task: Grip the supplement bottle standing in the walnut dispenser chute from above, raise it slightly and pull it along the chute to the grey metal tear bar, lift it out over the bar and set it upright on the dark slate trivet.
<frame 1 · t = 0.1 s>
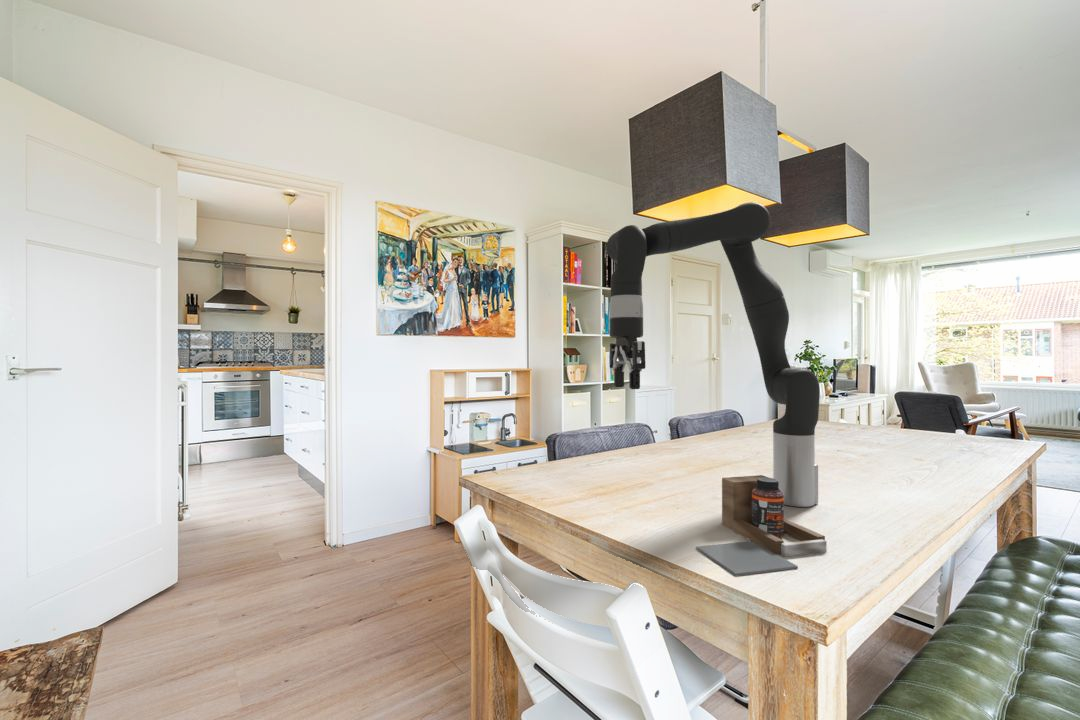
hand: (626, 388, 111), 29 cm above the table, tool pointing down, fingers open, 8 cm apart
supplement bottle: (767, 535, 100), resting in dispenser
trivet: (744, 558, 88), on the table
dispenser: (770, 536, 99), on the table
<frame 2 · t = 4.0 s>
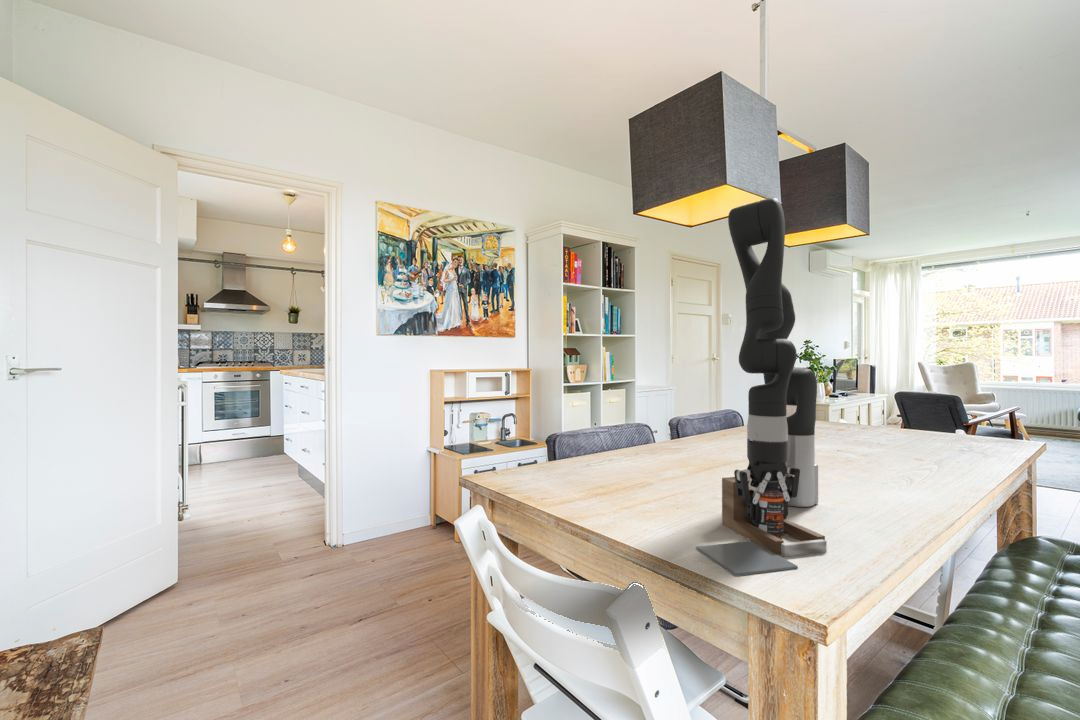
hand: (767, 519, 100), 3 cm above the table, tool pointing down, fingers closed on supplement bottle, 6 cm apart
supplement bottle: (767, 535, 100), resting in dispenser, touching gripper
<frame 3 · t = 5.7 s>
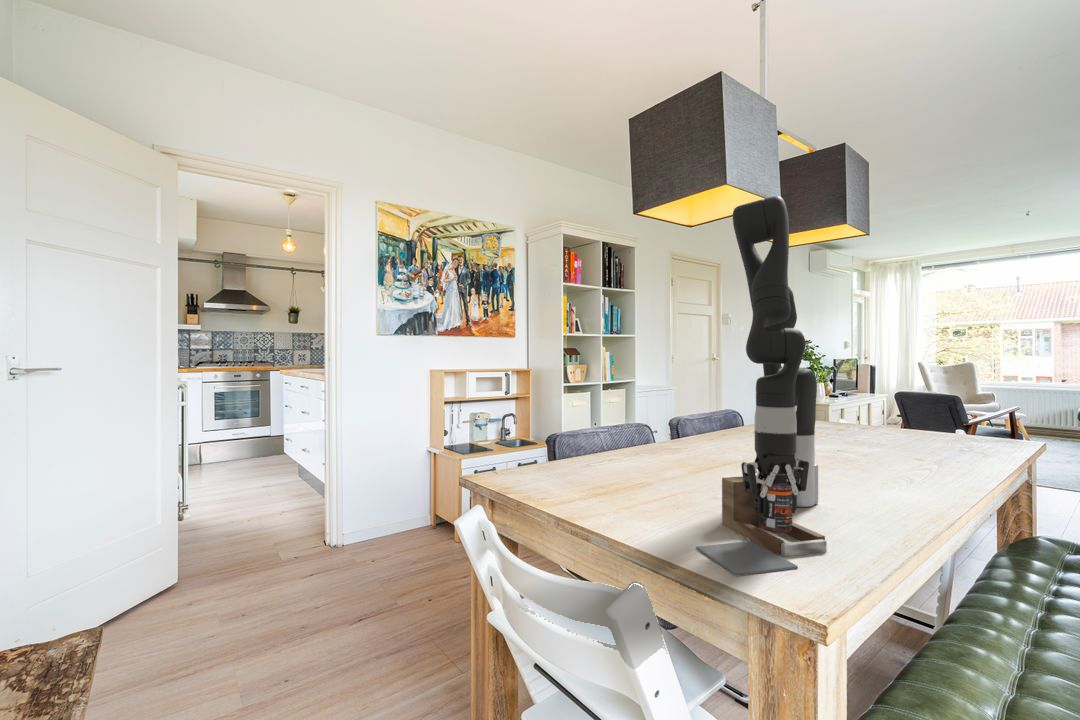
hand: (775, 513, 97), 5 cm above the table, tool pointing down, fingers closed on supplement bottle, 6 cm apart
supplement bottle: (775, 530, 97), point 2 cm above the table, touching gripper
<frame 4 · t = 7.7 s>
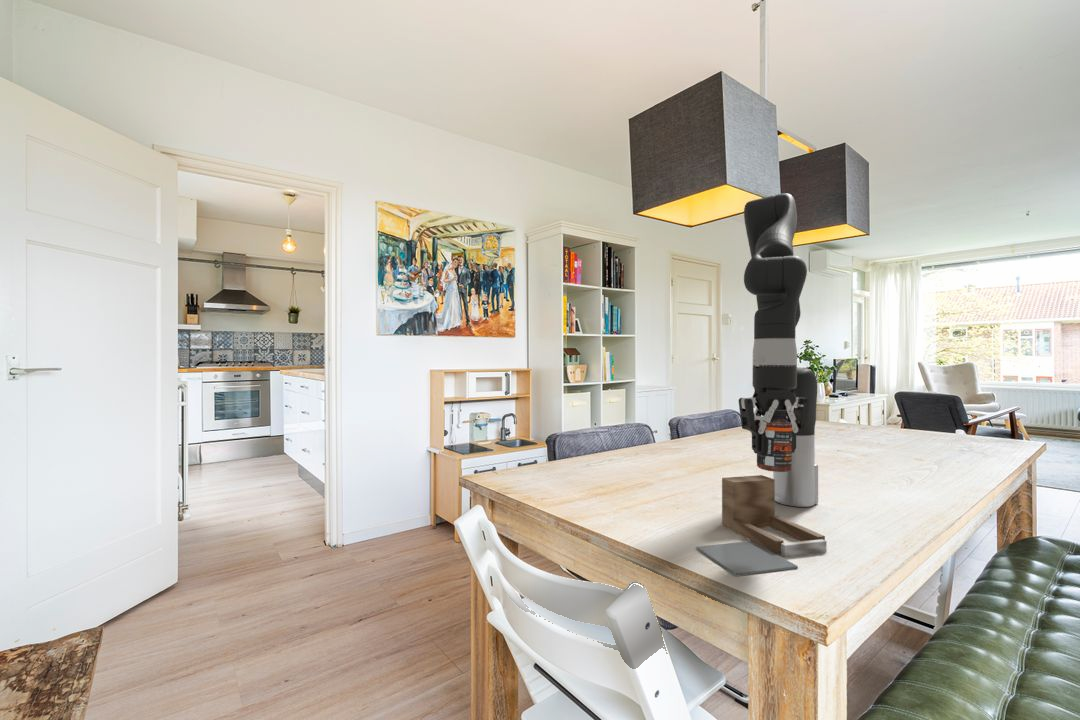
hand: (773, 452, 92), 18 cm above the table, tool pointing down, fingers closed on supplement bottle, 6 cm apart
supplement bottle: (774, 470, 92), point 15 cm above the table, touching gripper
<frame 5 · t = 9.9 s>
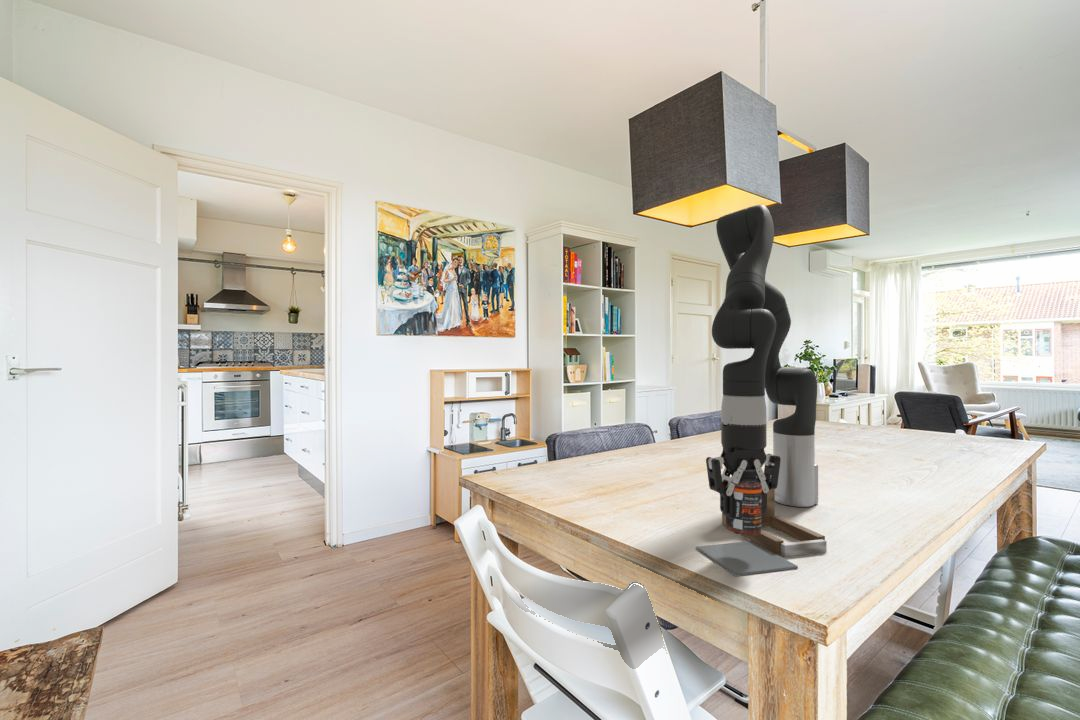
hand: (743, 513, 88), 8 cm above the table, tool pointing down, fingers closed on supplement bottle, 6 cm apart
supplement bottle: (743, 532, 88), point 5 cm above the table, touching gripper
when the fingers open (4 cm above the table, at t = 11.7 s): supplement bottle stays where it is, resting on trivet.
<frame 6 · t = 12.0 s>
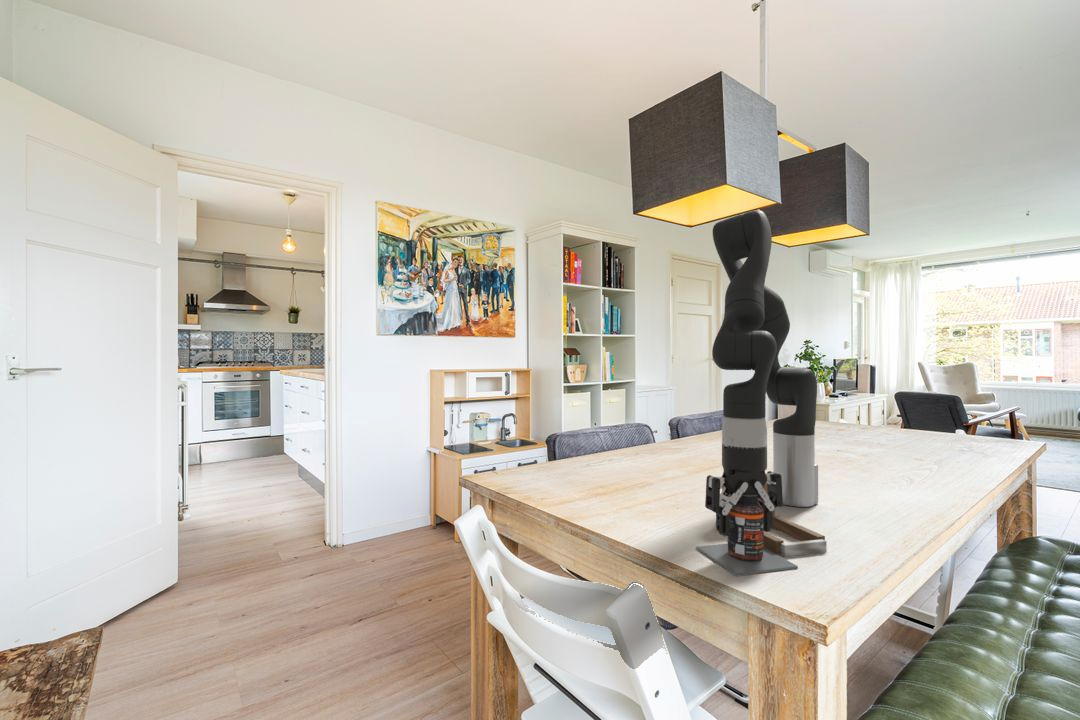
hand: (744, 532, 88), 5 cm above the table, tool pointing down, fingers open, 8 cm apart
supplement bottle: (745, 556, 88), resting on trivet
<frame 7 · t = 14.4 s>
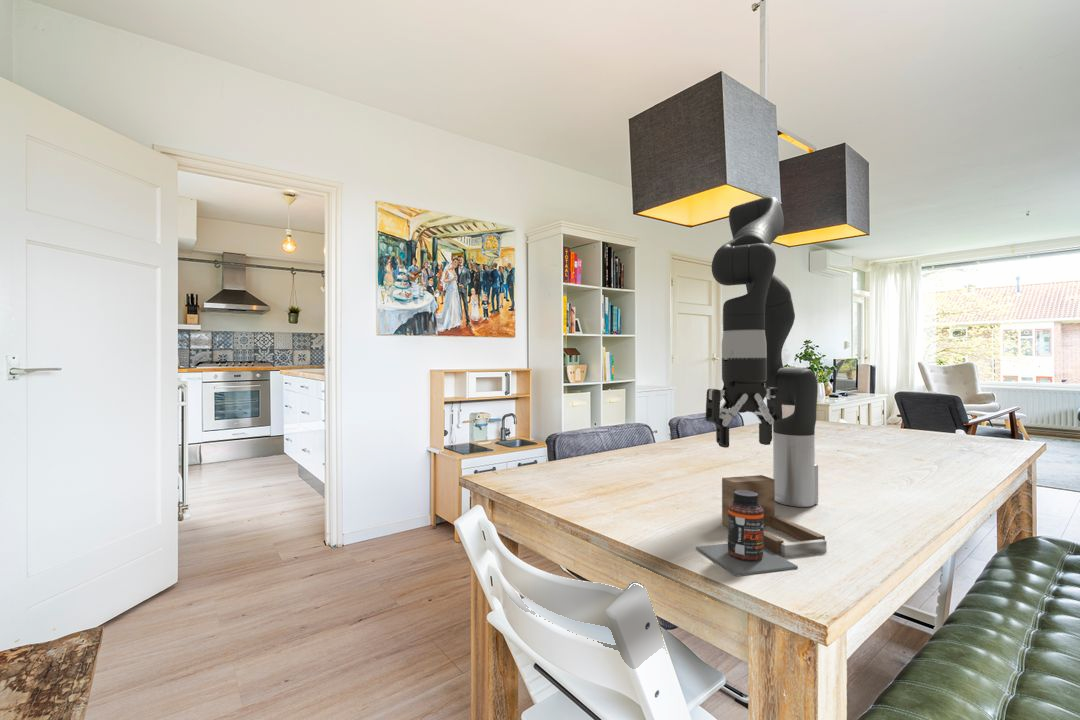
hand: (744, 445, 89), 20 cm above the table, tool pointing down, fingers open, 8 cm apart
nothing on the table moved.
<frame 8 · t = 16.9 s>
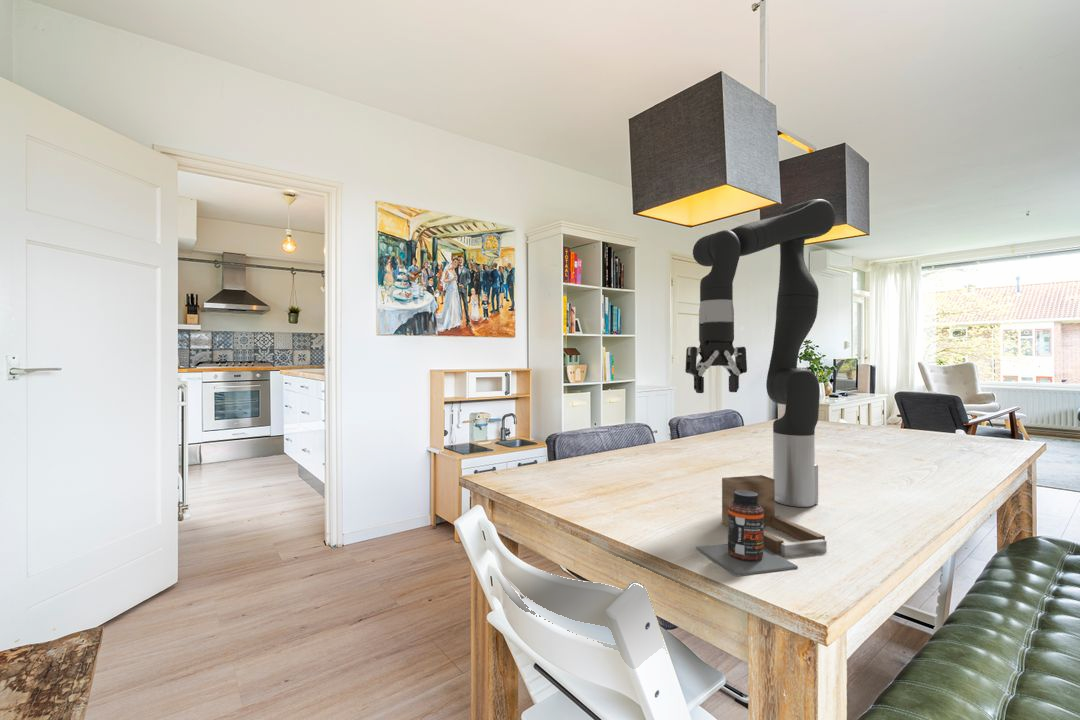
hand: (716, 392, 112), 28 cm above the table, tool pointing down, fingers open, 8 cm apart
nothing on the table moved.
at the end: supplement bottle inside the target area on the trivet (0.3 cm from its centre), point 0.2 cm above the trivet's base; supplement bottle tilted 0°; the gripper is holding nothing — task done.
